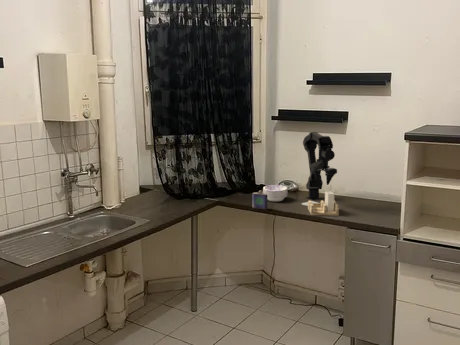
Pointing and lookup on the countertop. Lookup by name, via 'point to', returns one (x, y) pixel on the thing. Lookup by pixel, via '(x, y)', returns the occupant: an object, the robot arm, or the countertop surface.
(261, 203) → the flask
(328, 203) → the white rectangular block
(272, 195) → the paper bowls
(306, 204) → the drying mat
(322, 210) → the rack
